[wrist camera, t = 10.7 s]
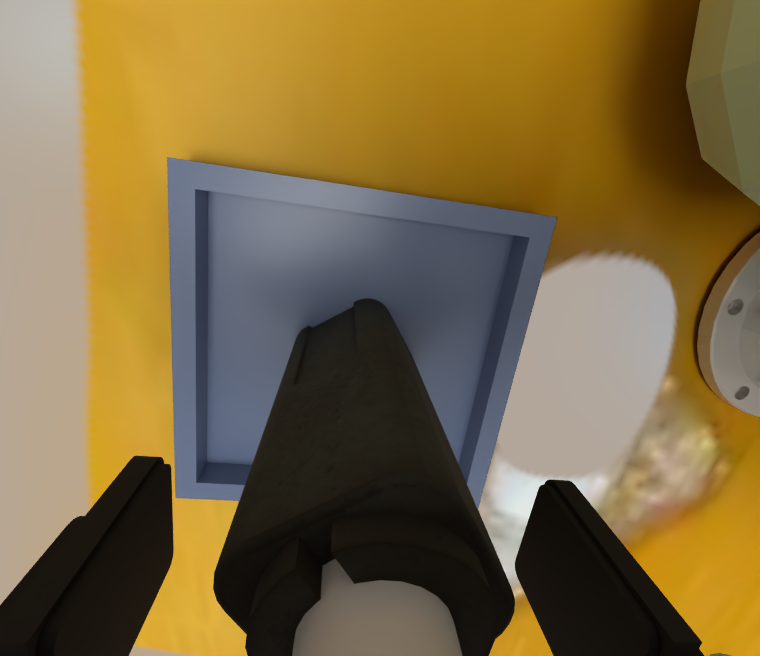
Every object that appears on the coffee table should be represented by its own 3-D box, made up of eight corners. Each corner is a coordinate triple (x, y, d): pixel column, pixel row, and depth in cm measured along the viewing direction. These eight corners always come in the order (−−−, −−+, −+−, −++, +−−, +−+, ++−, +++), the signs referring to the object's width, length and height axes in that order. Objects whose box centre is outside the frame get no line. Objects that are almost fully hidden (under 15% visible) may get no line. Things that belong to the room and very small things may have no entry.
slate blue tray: (533, 215, 19) (557, 217, 17) (465, 484, 24) (477, 511, 22) (189, 162, 17) (167, 157, 15) (191, 469, 22) (175, 497, 20)
